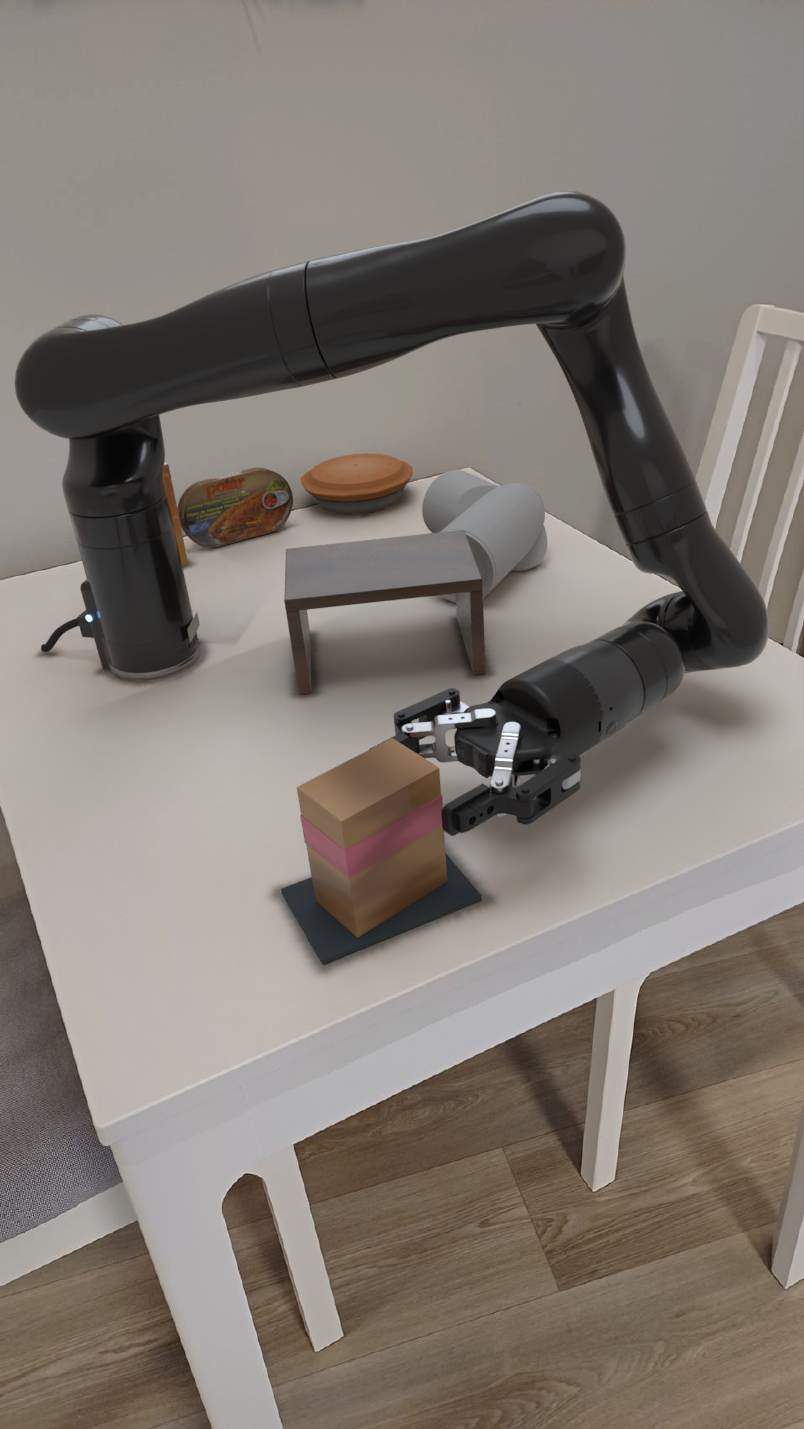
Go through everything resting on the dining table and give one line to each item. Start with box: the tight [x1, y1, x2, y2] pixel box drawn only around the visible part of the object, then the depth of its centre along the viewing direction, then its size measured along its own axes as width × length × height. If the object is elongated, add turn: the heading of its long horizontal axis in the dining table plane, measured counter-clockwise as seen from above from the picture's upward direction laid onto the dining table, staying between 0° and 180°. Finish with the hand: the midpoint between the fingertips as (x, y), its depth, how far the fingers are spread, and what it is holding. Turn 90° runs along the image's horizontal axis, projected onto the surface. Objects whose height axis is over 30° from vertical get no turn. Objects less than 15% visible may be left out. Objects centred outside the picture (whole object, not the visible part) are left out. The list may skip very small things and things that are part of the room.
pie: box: [300, 453, 414, 515], centre depth 136 cm, size 16×16×5 cm
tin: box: [177, 467, 294, 549], centre depth 127 cm, size 15×3×8 cm, turn 117°
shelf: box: [283, 530, 487, 695], centre depth 97 cm, size 12×18×10 cm, turn 95°
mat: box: [280, 852, 483, 965], centre depth 70 cm, size 12×8×1 cm, turn 116°
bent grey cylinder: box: [421, 469, 548, 604], centre depth 113 cm, size 18×11×20 cm
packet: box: [296, 737, 447, 938], centre depth 67 cm, size 8×5×10 cm, turn 129°
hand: (404, 794), depth 68 cm, fingers open, 8 cm apart
